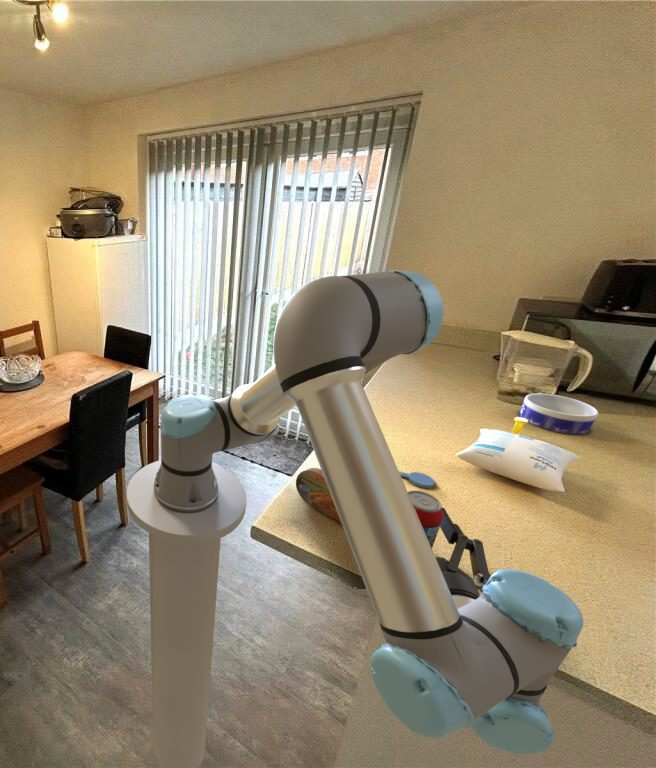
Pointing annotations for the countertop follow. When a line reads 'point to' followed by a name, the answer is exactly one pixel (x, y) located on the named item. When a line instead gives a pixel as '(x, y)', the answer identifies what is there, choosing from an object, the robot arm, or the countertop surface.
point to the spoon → (419, 479)
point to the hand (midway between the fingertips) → (408, 508)
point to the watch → (519, 425)
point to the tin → (316, 491)
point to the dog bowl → (558, 413)
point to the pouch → (520, 458)
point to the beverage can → (427, 513)
